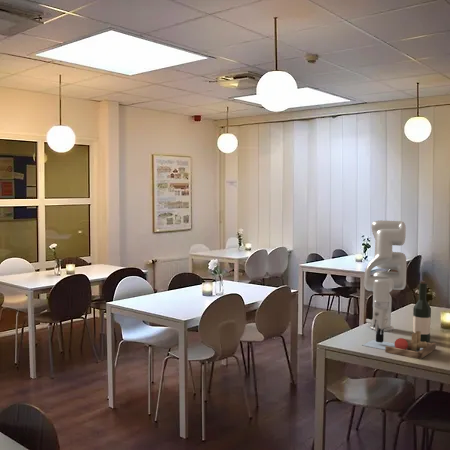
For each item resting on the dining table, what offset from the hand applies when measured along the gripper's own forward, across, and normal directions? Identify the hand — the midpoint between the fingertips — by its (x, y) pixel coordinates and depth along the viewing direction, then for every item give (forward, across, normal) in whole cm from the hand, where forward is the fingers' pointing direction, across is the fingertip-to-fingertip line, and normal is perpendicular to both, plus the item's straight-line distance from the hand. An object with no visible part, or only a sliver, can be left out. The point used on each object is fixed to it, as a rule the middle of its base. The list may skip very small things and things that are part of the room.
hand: (379, 341), depth 265 cm
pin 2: (+2, +2, -18) cm, 18 cm away
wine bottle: (+2, +22, -13) cm, 26 cm away
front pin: (0, 0, -14) cm, 14 cm away
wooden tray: (+2, 0, -15) cm, 15 cm away
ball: (-2, -4, -12) cm, 13 cm away
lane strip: (+2, 0, -8) cm, 8 cm away
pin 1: (+2, -2, -18) cm, 18 cm away
